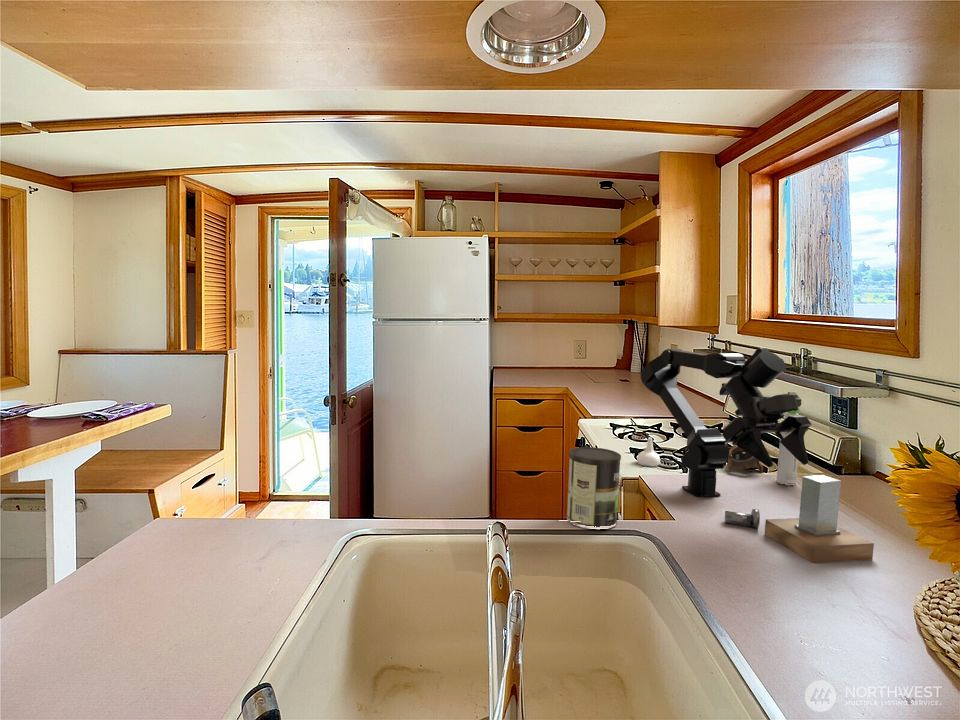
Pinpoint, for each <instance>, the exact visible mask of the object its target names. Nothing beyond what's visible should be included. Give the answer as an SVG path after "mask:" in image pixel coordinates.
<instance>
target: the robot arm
mask: <svg viewBox="0 0 960 720" xmlns="http://www.w3.org/2000/svg"><path fill="white" fill-rule="evenodd" d="M681 367H685V368H691V369H696V370H701V371H703V372H704V373H705V374H706V375H708V376H710V377H713V378H714V379H729V380H728V381H727V382H723V383H721V387H720V389H719V391H718V392H719V393H718V394H719V395H720V396H730V398H731V400H732V402H733V403H734V406H736V408H737V409H736V410H735V411H734V413H735V415H736V416H737V417H735V418H733V419H732V420H731V421H730V423H728V424H726V426H725V427H723V429H722V432H721V431H720V430H719V429H718V428H707V427H706V426H705V424H704V423H703V422H702V421H701V419H700V417H699V416H698V415H697V413H696V412H695V410H694V409H693V408H692V406H691V405H690V404H689V402H688V400H687V399H686V398H685V397H684V395H683V394H682V393H681V391H680V389H678V387H677V386H678V377H677V376H678V375H680V373H681ZM786 369H787V365H786V362H785V361H784V359H783V358H782V357H779V356H778V355H777V354H775V353H774V352H772V351H769V350H768V348H767V347H758V348H757V349H755V351H754V352H753V354H752V355H751V356H750V357H749V358H748V359H745V355H743V354H741V353H734V352H733V353H731V352H730V353H726V352H721V353H719V352H717V353H702V352H694V351H688V350H682V349H680V348H679V349H678V348H668V349H667V348H666V349H665V350H663V351H662V353H660V354H659V355H658V356H657V357H656V358H654V359H652V360H650V361H649V362H648V363H647V364H646V365H645V366H644V368H643V369H642V371H641V372H640V379H641V383H642V384H643V385H644V386H645V388H646V389H648V391H650V392H651V393H653V394H655V395H657V396H659V398H660V399H661V400H662V402H663V403H664V405H665V406H666V408H667V409H668V411H669V413H670V414H671V415H672V417H673V419H674V420H675V421H676V423H677V424H678V426H679V427H680V428H681V430H682V432H683V433H684V435H685V436H686V449H687V451H686V452H685V453H684V454H682V455H681V457H680V461H681V465H682V467H685V468H686V469H688V479H687V485H681V488H682V490H685V491H686V492H688V493H690V494H692V495H693V496H694V497H721V493H720V492H719V491H717V470H724V468H725V466H726V465H727V462H728V460H727V459H728V457H729V450H730V446H729V445H728V444H727V443H731V444H732V446H738V447H739V448H741V449H743V450H744V451H746V452H747V453H749V454H750V455H752V456H753V457H755V458H756V459H758V460H759V462H761V464H762V465H765V467H767V468H772V467H773V466H774V462H773V460H772V458H771V455H770V454H769V452H768V450H767V448H766V446H765V444H764V443H763V441H762V438H761V437H762V436H761V435H762V434H763V433H764V434H765V433H766V434H769V433H770V434H771V433H774V434H775V436H776V437H777V438H778V439H779V444H780V443H781V444H782V445H783V446H784V447H785V448H786V449H787V450H788V451H789V452H790V453H791V454H792V455H793V456H794V457H795V458H796V459H797V460H798V462H799V463H801V464H802V465H803V466H806V465H808V464H809V458H808V453H807V449H806V445H805V435H806V432H808V431H809V428H810V427H812V422H811V421H810V420H809V418H808V417H807V416H804V415H799V416H788V417H787V418H786V419H785V420H782V421H781V422H779V420H781V419H783V418H785V413H786V412H789V411H793V410H794V411H796V410H799V408H800V407H801V405H802V399H801V397H800V396H799V395H798V394H797V393H796V392H795V391H788V392H787V393H782V394H776V395H773V396H764V395H763V394H762V392H761V390H760V389H759V388H761V389H765V388H767V387H768V386H769V385H771V383H772V382H774V381H775V380H776V379H777V378H778V377H779V376H780V375H782V374H783V372H785V371H786ZM739 416H741V417H739ZM780 439H781V441H780Z"/></svg>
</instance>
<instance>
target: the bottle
mask: <svg viewBox="0 0 960 720" xmlns="http://www.w3.org/2000/svg"><path fill="white" fill-rule="evenodd" d="M800 411H801V409H799V410H796V411H794V410H793V411H789V412H786V413H784V417H783V418H784V420H785V419H786V418H787V417H788V416H800V414H799V413H798V412H800ZM780 441H781V439H780V438H779V447H778V459H777V460H778V461H777V470H776V471H777V472H776V482H777V484H780V485H783V484H785V486H790V485H793V486H796V485H797V473H798V462H799V461H798V460H797V459H796V458H795V457H794V456H793V455H792V454H791V453H790V452H789V451H788V450H787V449H786V448H785V447H784V446H783V445H782V444H781V443H780ZM795 484H796V485H795Z"/></svg>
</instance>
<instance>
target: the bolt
mask: <svg viewBox="0 0 960 720" xmlns="http://www.w3.org/2000/svg"><path fill="white" fill-rule="evenodd" d="M760 514H761V513H760V510H759V509H758V508H752V509H751V512H750V513H742V512H738V511H737V512H736V511H731V510H725V511H724V523H726V524H731V525H737V526H745V527H749V528H750V527H751V528H756V529H758V528H759V527H760V518H761V516H760Z"/></svg>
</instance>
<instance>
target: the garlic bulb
mask: <svg viewBox="0 0 960 720" xmlns="http://www.w3.org/2000/svg"><path fill="white" fill-rule="evenodd" d="M646 443H647V444H646V447H645V450H643V451H641V452H638V455H637V457H636V460H637V463H638V464H639V465H641V466H644V467H651V468H653V467H654V468H655V467H657V466H659V465H660V464H661V458H660V456H659V454H658V453H657V452H656V451H654V443H653V438H652V437H647V442H646Z"/></svg>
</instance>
